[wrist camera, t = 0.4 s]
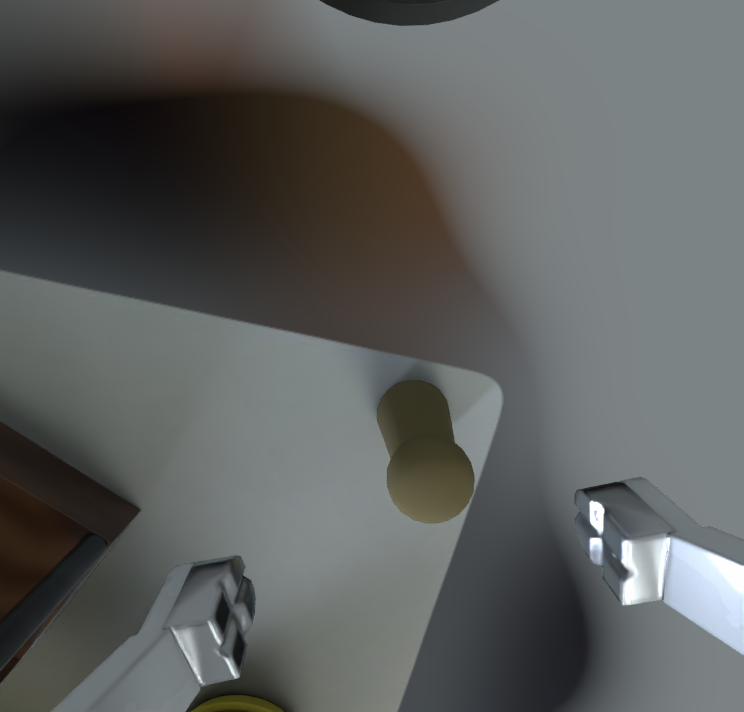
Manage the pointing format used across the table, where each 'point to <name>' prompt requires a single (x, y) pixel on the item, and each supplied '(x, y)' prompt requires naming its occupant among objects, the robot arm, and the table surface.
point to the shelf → (47, 540)
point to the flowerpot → (237, 705)
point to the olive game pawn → (423, 454)
